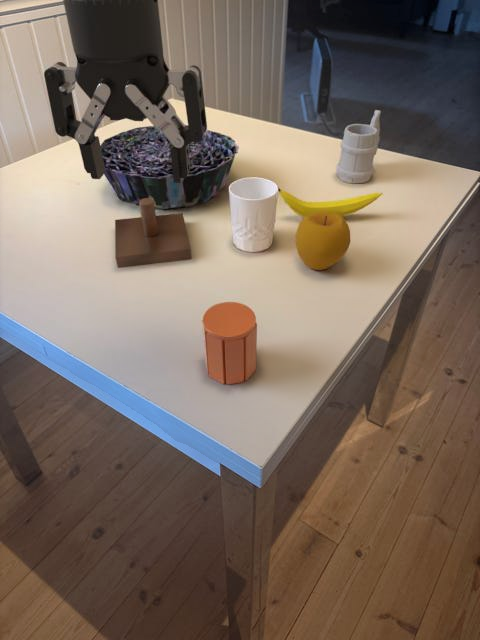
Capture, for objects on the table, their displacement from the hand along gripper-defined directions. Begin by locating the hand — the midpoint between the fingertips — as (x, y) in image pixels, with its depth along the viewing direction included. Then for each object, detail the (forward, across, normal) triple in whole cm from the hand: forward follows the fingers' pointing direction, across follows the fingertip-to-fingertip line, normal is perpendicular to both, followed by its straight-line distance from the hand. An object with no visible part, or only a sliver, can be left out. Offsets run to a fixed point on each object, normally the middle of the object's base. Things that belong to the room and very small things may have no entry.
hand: (139, 178), depth 50 cm
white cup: (+24, +9, +26) cm, 37 cm away
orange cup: (+24, +9, -3) cm, 25 cm away
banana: (+24, +22, +36) cm, 48 cm away
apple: (+24, +20, +21) cm, 37 cm away
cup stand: (+24, -8, +24) cm, 34 cm away
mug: (+24, +28, +56) cm, 67 cm away
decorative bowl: (+24, -10, +45) cm, 52 cm away
